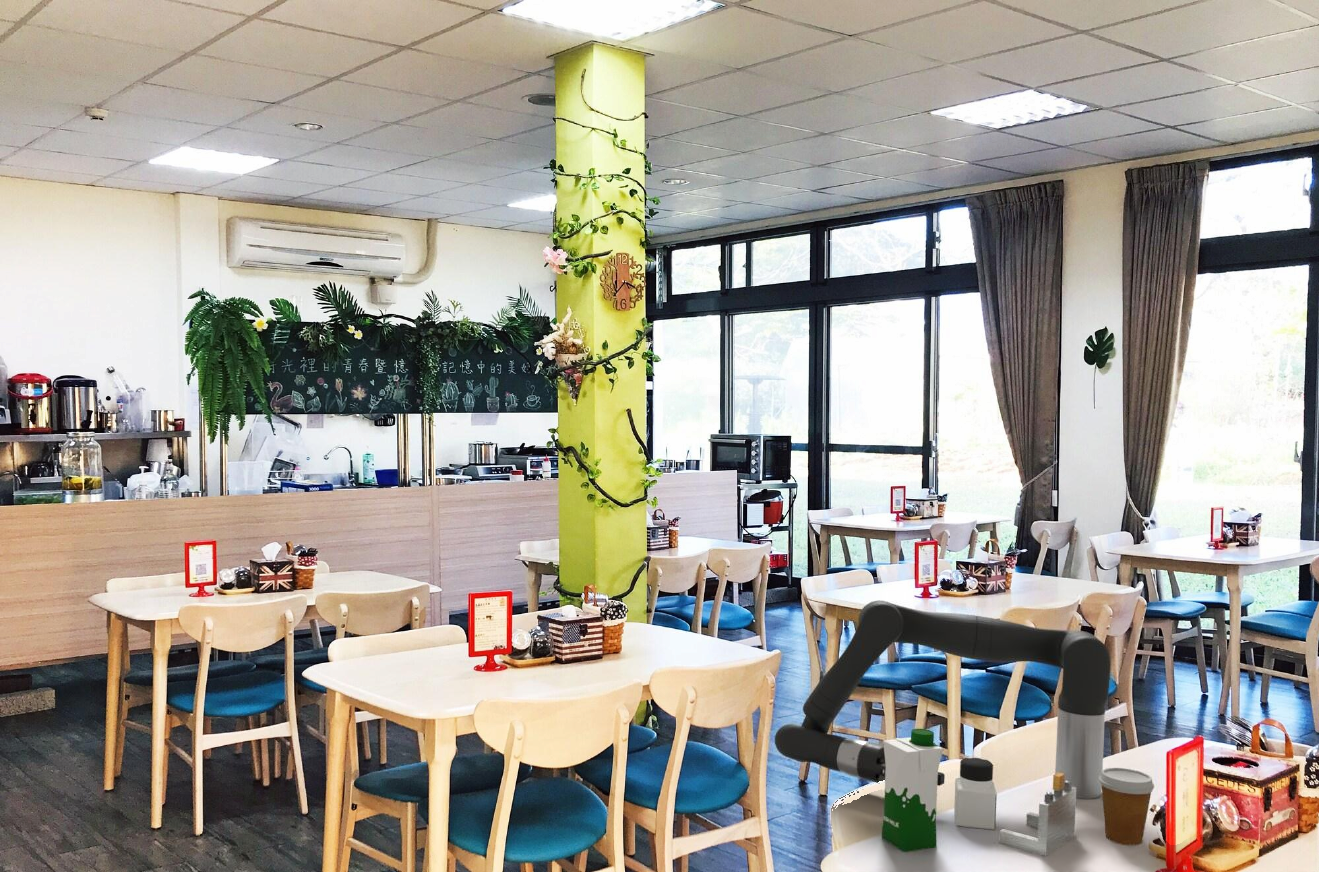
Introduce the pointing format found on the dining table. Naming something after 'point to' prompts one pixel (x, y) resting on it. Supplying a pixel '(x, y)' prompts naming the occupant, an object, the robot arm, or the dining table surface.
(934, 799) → the milk carton
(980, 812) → the medicine bottle
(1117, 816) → the disposable coffee cup
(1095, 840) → the dining table surface
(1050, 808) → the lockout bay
